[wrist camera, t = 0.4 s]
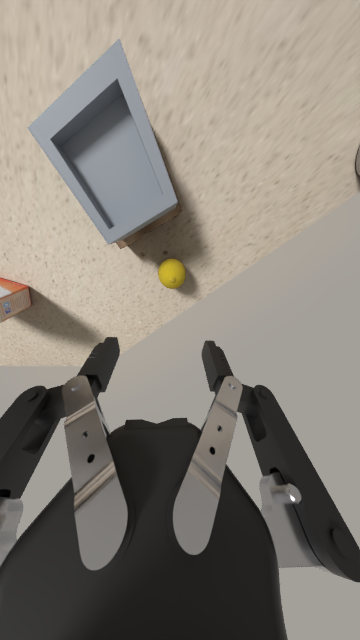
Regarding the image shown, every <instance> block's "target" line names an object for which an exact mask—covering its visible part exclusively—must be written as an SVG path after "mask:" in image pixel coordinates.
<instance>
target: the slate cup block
mask: <svg viewBox="0 0 360 640" xmlns="http://www.w3.org/2000/svg"><path fill="white" fill-rule="evenodd" d="M28 129H29V131H30V132H31V134H32V135H33V137H34V138H35V139H36V141H37V142H38V144H39V145H40V147H41V148H42V150H43V151H44V152H45V154H46V155H47V157H48V158H49V160H50V161H51V163H52V164H53V165H54V167H55V168H56V170H57V171H58V173H59V174H60V175H61V177H62V178H63V180H64V181H65V183H66V184H67V186H68V187H69V188H70V190H71V191H72V193H73V194H74V196H75V197H76V199H77V200H78V201H79V203H80V204H81V206H82V207H83V209H84V210H85V212H86V213H87V214H88V216H89V217H90V219H91V220H92V222H93V223H94V224H95V226H96V227H97V229H98V230H99V232H100V233H101V235H102V236H103V237H104V239H105V240H106V242H107V243H108V245H109V244H112V243H115V242H119V241H122V240H124V239H126V238H127V237H129V236H131V235H132V234H134V233H135V232H137V231H139V230H140V229H142V228H144V227H145V226H147V225H149V224H150V223H152V222H154V221H155V220H157V219H158V218H160V217H162V216H163V215H165V214H167V213H168V212H170V211H172V210H173V209H175V208H176V205H177V203H178V201H177V198H176V195H175V193H174V190H173V187H172V184H171V181H170V179H169V176H168V173H167V170H166V167H165V165H164V162H163V159H162V156H161V153H160V151H159V148H158V145H157V142H156V139H155V137H154V134H153V131H152V128H151V125H150V123H149V120H148V117H147V114H146V111H145V109H144V106H143V103H142V100H141V97H140V95H139V92H138V89H137V86H136V83H135V81H134V78H133V75H132V72H131V69H130V67H129V64H128V61H127V58H126V55H125V53H124V50H123V47H122V44H121V41H120V39H118V40H117V41H116V42H115V43H114V44H113V45H112V46H111V47H110V48H109V49H108V50H107V51H106V52H105V53H104V54H103V55H102V56H101V57H100V58H99V59H98V60H97V61H96V62H95V63H94V64H93V65H91V66H90V67H89V68H88V69H87V70H86V71H85V72H84V73H83V74H82V75H81V76H80V77H79V78H78V79H77V80H76V81H75V82H74V83H73V84H72V85H71V86H70V87H69V88H68V89H67V90H66V91H65V92H64V93H63V94H62V95H61V96H60V97H59V98H58V99H57V100H56V101H54V102H53V103H52V104H51V105H50V106H49V107H48V108H47V109H46V110H45V111H44V112H43V113H42V114H41V115H40V116H39V117H38V118H37V119H36V120H35V121H34V122H33V123H32V124H31V125H30V126H29V127H28Z"/></svg>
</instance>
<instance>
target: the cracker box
mask: <svg viewBox="0 0 360 640" xmlns="http://www.w3.org/2000/svg"><path fill="white" fill-rule="evenodd" d="M30 306H31V299H30V293H29V287H28V286H26V285H22V284H19V283H16V282H12V281H9V280H6V279H3V278H0V323H1V322H3V321H5V320H7V319H8V318H10V317H12V316H14V315H16V314H17V313H19V312H21V311H23V310H25V309H26V308H28V307H30Z"/></svg>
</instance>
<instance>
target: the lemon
mask: <svg viewBox="0 0 360 640" xmlns="http://www.w3.org/2000/svg"><path fill="white" fill-rule="evenodd" d="M158 275H159V279H160V281H161V283H162V284H163V285H164V286H165V287H167V288H170V289H174V288H178V287H180V286H181V285H182V284H183V282H184V280H185V277H186V271H185V268H184V266H183V264H182V263H181V262H180V261H179V260H177V259H167V260H165V261H164V262H162V264H161V265H160V267H159V271H158Z"/></svg>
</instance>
